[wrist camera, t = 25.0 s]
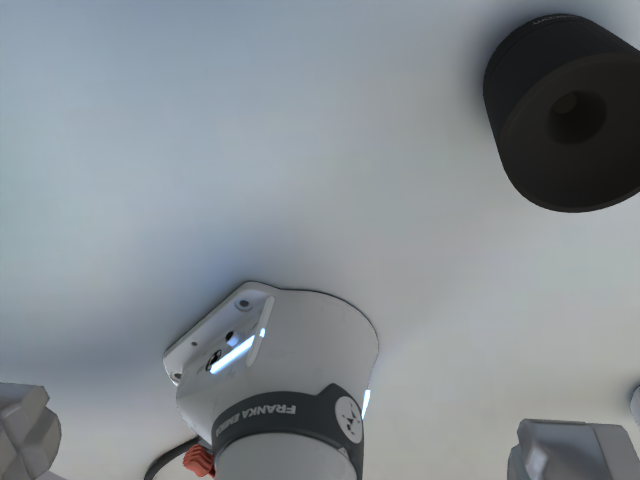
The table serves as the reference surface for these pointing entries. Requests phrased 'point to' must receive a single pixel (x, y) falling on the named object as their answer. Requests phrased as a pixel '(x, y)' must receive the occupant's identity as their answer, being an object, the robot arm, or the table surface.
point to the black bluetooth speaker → (566, 113)
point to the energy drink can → (636, 406)
